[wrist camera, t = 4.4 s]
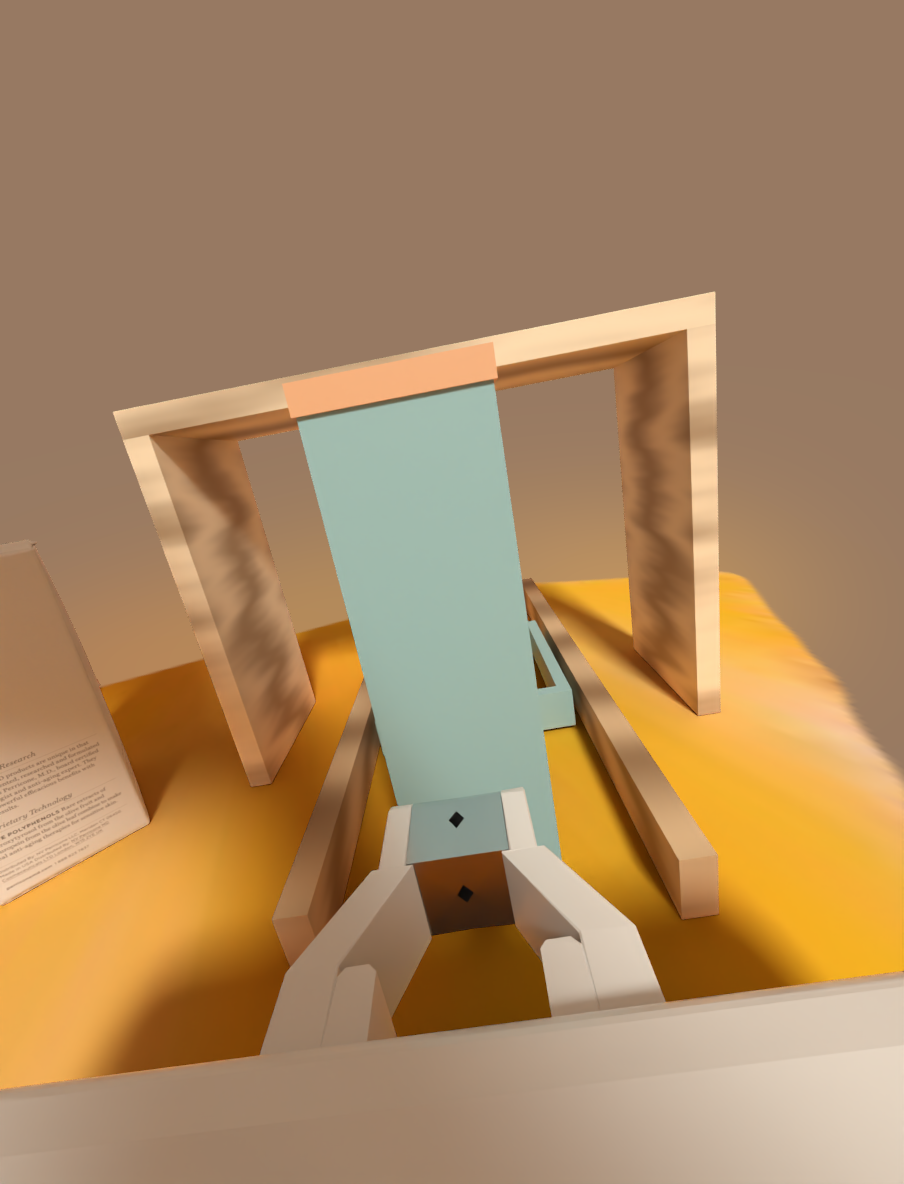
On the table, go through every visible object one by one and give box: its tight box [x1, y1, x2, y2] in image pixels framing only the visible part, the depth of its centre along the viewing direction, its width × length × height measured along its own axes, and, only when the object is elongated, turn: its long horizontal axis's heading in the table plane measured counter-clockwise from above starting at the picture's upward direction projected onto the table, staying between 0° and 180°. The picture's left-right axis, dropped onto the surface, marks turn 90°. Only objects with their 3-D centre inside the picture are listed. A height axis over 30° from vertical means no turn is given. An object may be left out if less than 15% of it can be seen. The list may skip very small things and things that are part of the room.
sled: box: [282, 342, 576, 860], centre depth 24 cm, size 21×11×18 cm, turn 0°
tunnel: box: [113, 292, 721, 967], centre depth 28 cm, size 34×26×20 cm
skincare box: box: [0, 540, 150, 905], centre depth 23 cm, size 8×7×16 cm
